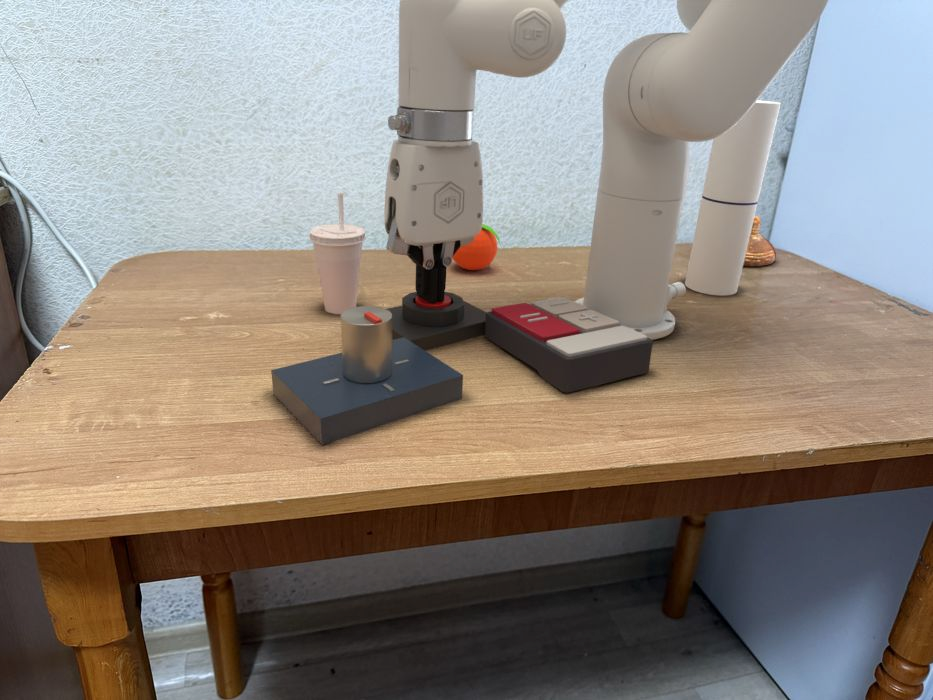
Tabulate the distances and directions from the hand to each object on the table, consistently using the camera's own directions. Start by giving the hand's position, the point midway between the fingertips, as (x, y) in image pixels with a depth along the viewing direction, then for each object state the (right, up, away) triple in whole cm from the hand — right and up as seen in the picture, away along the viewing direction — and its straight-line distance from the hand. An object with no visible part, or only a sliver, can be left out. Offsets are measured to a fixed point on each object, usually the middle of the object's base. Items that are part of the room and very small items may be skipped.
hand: (430, 298), depth 72 cm
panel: (-5, -10, -13) cm, 17 cm away
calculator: (+14, -6, -3) cm, 16 cm away
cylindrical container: (+39, +3, +20) cm, 44 cm away
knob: (-5, -8, -14) cm, 17 cm away
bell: (+49, +10, +35) cm, 61 cm away
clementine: (+5, +6, +23) cm, 24 cm away
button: (0, -2, +1) cm, 2 cm away
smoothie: (-11, -1, +6) cm, 13 cm away
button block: (0, -3, +2) cm, 4 cm away
